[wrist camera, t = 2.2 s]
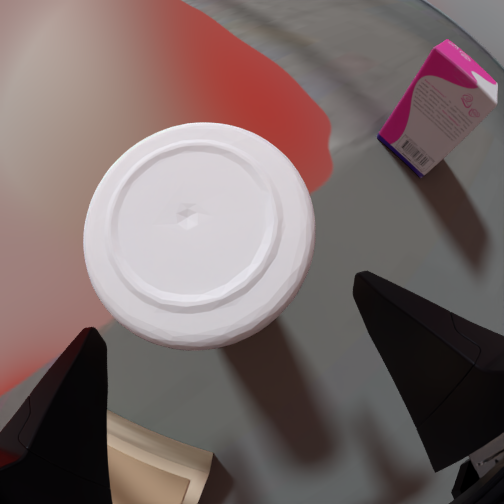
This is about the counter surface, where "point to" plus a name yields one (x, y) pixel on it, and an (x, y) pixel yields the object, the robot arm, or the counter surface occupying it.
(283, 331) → the counter surface
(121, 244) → the sprinkles bottle
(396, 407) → the counter surface
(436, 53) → the supplement box
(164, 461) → the beech tray
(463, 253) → the counter surface
